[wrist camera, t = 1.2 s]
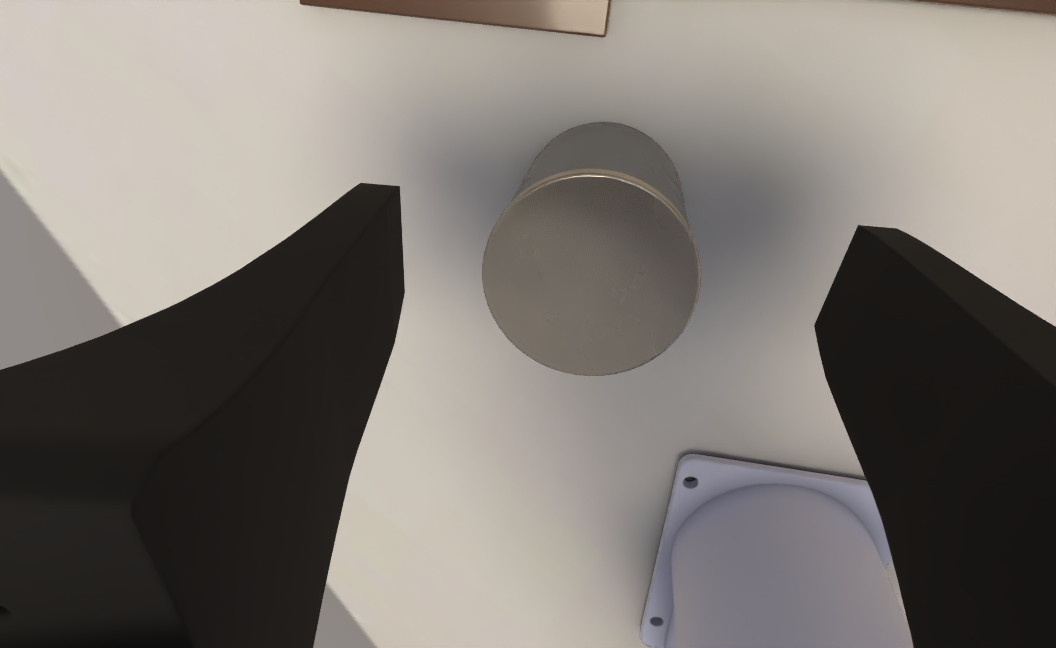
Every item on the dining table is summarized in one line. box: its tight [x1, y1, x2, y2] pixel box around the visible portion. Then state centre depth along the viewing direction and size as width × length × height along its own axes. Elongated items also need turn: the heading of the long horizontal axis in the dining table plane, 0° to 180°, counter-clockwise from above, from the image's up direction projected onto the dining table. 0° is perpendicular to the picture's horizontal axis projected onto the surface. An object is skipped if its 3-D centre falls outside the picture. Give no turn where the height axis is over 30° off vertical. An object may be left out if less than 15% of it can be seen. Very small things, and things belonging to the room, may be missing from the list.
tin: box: [482, 122, 701, 376], centre depth 19 cm, size 5×5×6 cm
